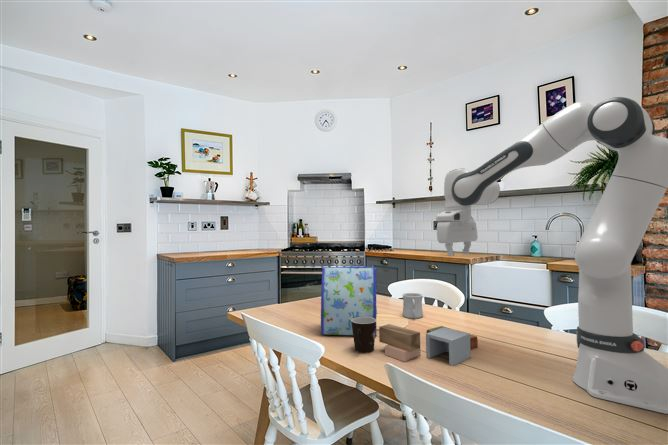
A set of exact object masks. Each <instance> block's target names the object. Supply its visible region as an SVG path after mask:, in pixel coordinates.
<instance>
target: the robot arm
mask: <svg viewBox="0 0 668 445" xmlns="http://www.w3.org/2000/svg"><path fill="white" fill-rule="evenodd" d="M655 130H656V127H655V123H654V121H653V120H652V119H651V117H650V114H649V113H648V111H647V110H646V109H645V108H644V107H642V106H641V105H640V104H639V103H638V102H637V101H635V100H633V99H631V98H627V97H623V96H615V97H614V96H613V97H609V98H607V99H604V100H602V101H600V102H599V103H597V104H596V105H595V106H594V105H593V104H591V103H589V102H586V101H577V102H573V103H572V104H570V105H568V106H566V107H564V108H562V109H561V110H560V111H558V112H555V114H554V115H552V116H550V117H549V118H547V119H546V120H545V121H544V122H541V124H540V125H538V126H537V127H535V128H534V129H532V131H530V132H528V134H526V135H525V136H524V137H522V138H521V139H520V140H518V141H516V142H515V143H513V144H512V145H510V146H509V147H507V148H506V149H504V150H503V151H501V152H500V153H498V154H496V155H495V156H494V157H493V158H490V160H488V161H486V162H485V163H483V164H482V165H481V166H479V167H477V168H476V169H474V170H472V171H470V170H469V169H468V168H462V167H461V168H455V169H453V170H450V171H449V172H447V173H446V175H445V178H444V185H443V193H444V194H443V196H444V199H445V204H444V210H443V211H442V212H440V213H439V214H437V215H436V218H435V219H436V221H437V224H436V239H437V241H438V243H439V244H444V245H445V246H444V247H445V249H446V252H447V256H448V257H454V256H455V250H454V249H453V247H454V244H456V243H463V246H464V247H463V249H462V255H470V248H471V246H472V242H476V241H477V240H478V229H477V227H478V226H477V222H476V221H475V219H474V218H473V216H472V206H487V205H491V204H492V203H494V202H495V203H496V201H497V200H498V199H499V196H500V193H501V187H500V183H498V181H499V180H501V179H503V178H504V177H505V176H507V175H509V174H510V173H512V172H514V171H517V170H519V169H523V168H529V167H536V166H537V167H538V166H546V165H548V164H551V163H553V162H555V161H556V160H558V159H560V158H562V157H564V156H566V154H568V153H569V152H571V151H573V150H574V149H575V148H577V147H578V146H580V145H582V144H583V143H586V142H588V141H589V142H590V141H596V142H597V143H598V144H600V145H601V146H603V147H604V148H606V149H608V150H609V151H610V150H611V151H612V152H614V153H617V154H618V160H617V163H616V165H615V168H614V170H613V171H612V174H611V176H610V178H609V179H608V180H609V181H608V182H607V184H606V186H605V188H604V191H603V193H602V195H601V197H600V200H599V202H598V203H597V205H596V208H595V210H594V211H593V213H592V215H591V217H590V220H589V221H588V223H587V225H586V227H585V229H584V231H583V233H582V235H581V237H580V239H579V242H578V243H577V245H576V247H575V251H574V261H575V265H577V267H578V292H577V293H578V294H577V301H578V302H577V308H578V311H577V312H578V326H577V327H576V333H575V334H576V344H577V346H576V347H577V348H578V349H577V350H578V351H577V361H576V366H575V370H574V373H573V376H572V381H573V382H574V383H575V384H576V385H577V386H579V387H580V388H582V389H584V390H585V391H586V392H588V394H589V395H590V396H592V397H594V398H596V399H597V398H598V399H602V400H607V401H610V402H614V403H619V404H623V405H627V406H632V407H635V408H639V409H644V410H648V411H653V412H657V413H660V414H665V415H668V367H666V366H665V365H664V364H662V363H661V362H659V361H658V360H657V359H655V358H654V357H653V356H651V355H650V354H649V353H647V352H646V351H645V338H644V336H641V337H640V336H639V335H637V334H635V333H634V328H633V327H634V324H633V323H634V322H633V320H634V318H633V294H632V293H633V292H632V291H633V290H632V286H633V285H632V262H633V259H634V257H635V255H636V253H637V251H638V249H639V246H640V245H641V243H642V240H643V239H644V237H645V234H646V232H647V230H648V228H649V225H650V224H651V221H652V219H653V217H654V215H655V213H656V212H657V209H658V207H659V205H660V204H661V201H662V200H663V198H664V195H665V193H666V192H667V189H668V137H667V138H666V137H664V136H661V135H655Z"/></svg>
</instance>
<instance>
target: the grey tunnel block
mask: <svg viewBox="0 0 668 445" xmlns="http://www.w3.org/2000/svg"><path fill="white" fill-rule="evenodd" d="M443 327H444V328H441V329H438V330H435V331H432V332H429V333H427V332H426V333H425V341H426V342H425V349H426V358H427V359H431V358H433V357H436V356H438V355H440V354H444V353H448V359H449V360H448V362H449V363H448V365H450V366H452V367H453V366H456V365H458V364H460V363H461V362H464V361H466V360H468V359H470V358H472V357H471V354H472V353H471V350H470V334H471V333H470V332H465V331H460V330H458V329H457V330H456V329H453V328H450V329H449V327H446V326H443ZM445 327H446V328H445Z"/></svg>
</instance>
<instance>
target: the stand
mask: <svg viewBox="0 0 668 445" xmlns="http://www.w3.org/2000/svg"><path fill="white" fill-rule="evenodd" d="M384 355H385V356H387V357H390V358H393V359H395V360H399V361H402V362H407V361H410V360H412V359H416V358H418V357H419V356H421V347H420V348H419V349H416V350H414V351H411V352H410V351H406V350H403V349H400V348H397V347H394V346H391V345H388V344H386V345H385V346H384Z"/></svg>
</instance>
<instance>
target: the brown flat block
mask: <svg viewBox="0 0 668 445" xmlns="http://www.w3.org/2000/svg"><path fill="white" fill-rule="evenodd" d="M444 327H445V328H447V327H446V326H443V325H441V326H436V327H433V328H428V329H426V333H429V332H432V331H435V330H438V329H441V328H444ZM448 328H449V327H448ZM449 329H451V328H449ZM478 340H479V339H478V336H476V335H473V334H471V333H470V351H472V350H474V349H475V350H476V349H477V348H478V347H479V346H478V345H479V344H478V342H479V341H478Z"/></svg>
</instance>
